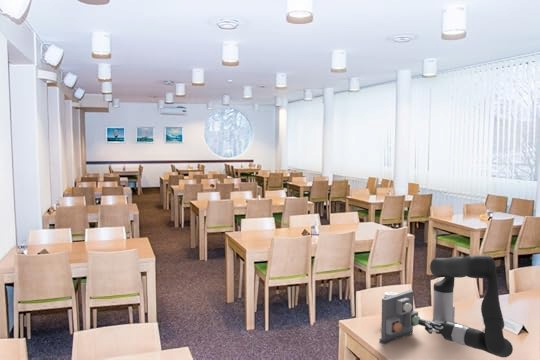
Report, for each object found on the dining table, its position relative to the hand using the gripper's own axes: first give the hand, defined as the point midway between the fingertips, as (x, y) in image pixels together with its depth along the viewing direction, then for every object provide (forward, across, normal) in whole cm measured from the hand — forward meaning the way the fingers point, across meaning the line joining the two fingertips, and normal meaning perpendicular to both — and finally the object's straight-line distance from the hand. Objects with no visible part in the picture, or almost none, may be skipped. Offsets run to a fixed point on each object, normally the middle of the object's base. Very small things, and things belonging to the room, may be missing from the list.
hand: (419, 321), depth 204 cm
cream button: (+11, -7, 0) cm, 14 cm away
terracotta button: (+12, 0, +8) cm, 14 cm away
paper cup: (+32, -23, +13) cm, 41 cm away
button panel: (+15, -7, +14) cm, 22 cm away
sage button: (+12, -14, +8) cm, 20 cm away
